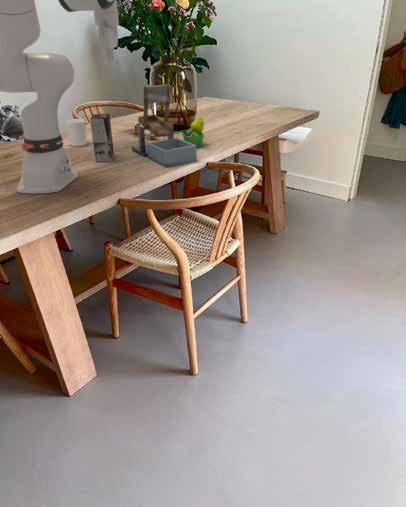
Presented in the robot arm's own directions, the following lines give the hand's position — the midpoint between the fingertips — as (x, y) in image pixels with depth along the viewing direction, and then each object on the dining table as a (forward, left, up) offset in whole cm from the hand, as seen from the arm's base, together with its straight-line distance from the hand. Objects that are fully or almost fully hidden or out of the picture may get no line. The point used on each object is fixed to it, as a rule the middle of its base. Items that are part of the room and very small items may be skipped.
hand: (110, 61), depth 166 cm
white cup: (+3, +18, -33) cm, 38 cm away
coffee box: (-18, +3, -33) cm, 38 cm away
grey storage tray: (-21, -23, -33) cm, 46 cm away
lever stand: (-9, -16, -33) cm, 38 cm away
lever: (-11, -17, -23) cm, 31 cm away
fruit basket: (0, -32, -33) cm, 46 cm away
